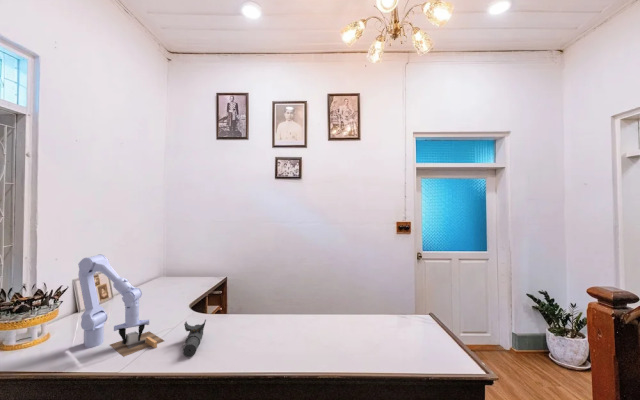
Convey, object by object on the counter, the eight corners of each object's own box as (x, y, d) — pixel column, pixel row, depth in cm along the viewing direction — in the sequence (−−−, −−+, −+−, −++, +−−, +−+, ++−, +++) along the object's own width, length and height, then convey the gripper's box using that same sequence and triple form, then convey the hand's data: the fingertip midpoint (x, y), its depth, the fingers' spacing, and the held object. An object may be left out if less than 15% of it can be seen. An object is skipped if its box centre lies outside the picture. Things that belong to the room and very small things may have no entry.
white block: (125, 344, 139) (125, 334, 139) (135, 341, 142) (135, 331, 142) (129, 346, 136) (129, 336, 136) (138, 343, 140) (138, 333, 140)
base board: (109, 346, 138) (109, 341, 138) (149, 333, 153) (149, 328, 153) (123, 358, 128) (123, 353, 128) (164, 342, 142) (164, 337, 142)
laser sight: (177, 358, 128) (178, 336, 128) (188, 336, 150) (188, 317, 150) (201, 355, 130) (201, 334, 130) (207, 333, 152) (207, 315, 152)
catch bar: (146, 342, 140) (146, 337, 140) (148, 341, 141) (148, 336, 141) (154, 348, 135) (154, 342, 135) (157, 347, 136) (157, 341, 136)
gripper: (149, 308, 146) (149, 335, 146) (115, 314, 139) (115, 342, 139) (149, 313, 140) (149, 341, 140) (113, 319, 133) (113, 348, 133)
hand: (132, 342), depth 139 cm, fingers closed on white block, 5 cm apart
